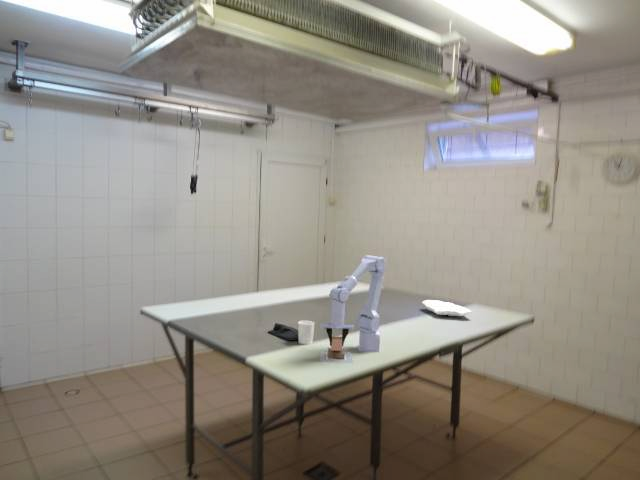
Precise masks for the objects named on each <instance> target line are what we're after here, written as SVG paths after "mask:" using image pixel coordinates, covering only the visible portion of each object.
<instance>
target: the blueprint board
mask: <svg viewBox="0 0 640 480" xmlns="http://www.w3.org/2000/svg"><path fill="white" fill-rule="evenodd" d="M344 353H345V358H344V359H328V350H319V360H320V361H319V362H321V363H322V362H326V363H327V362H328V363H351V364H352V363H353V364H354V360H353V357H352V353H351V351H344Z"/></svg>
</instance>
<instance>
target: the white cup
mask: <svg viewBox="0 0 640 480" xmlns="http://www.w3.org/2000/svg"><path fill="white" fill-rule="evenodd" d="M315 323H316V322H315V321H311V320H307V319H306V320H299V321H298V322H297V326H298V327H297V330H298V337H299V338H298V340H297V341H298V343H299V344H302V345H310V344H313V341H314V334H315V333H314V332H315Z"/></svg>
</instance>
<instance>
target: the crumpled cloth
mask: <svg viewBox="0 0 640 480" xmlns="http://www.w3.org/2000/svg"><path fill="white" fill-rule="evenodd" d="M421 304H422V305H424V306H425V308H426V309H428V310H429V311H430V312H432V313H434V314H436V315H437V316H439V315H440V317H441V316H446V315H448V317H464V316H467V315H469V314H472V313H473V312H472V310H470V309H469V308H467V307H464V306H461V305H458V304H454V303H453V302H449V301H447V302H445V301H443V300H439V299H437V300H436V299H425V300H423V301H421Z"/></svg>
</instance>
